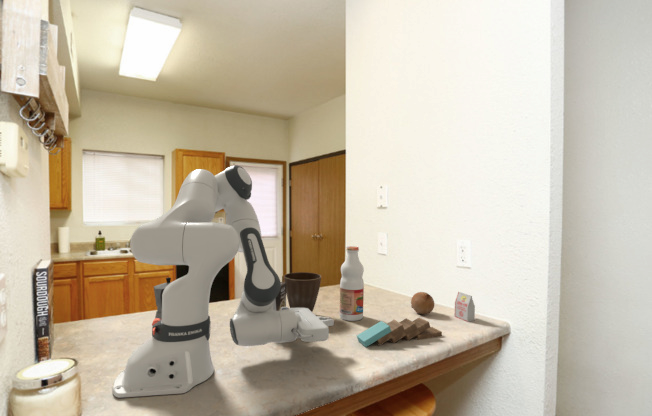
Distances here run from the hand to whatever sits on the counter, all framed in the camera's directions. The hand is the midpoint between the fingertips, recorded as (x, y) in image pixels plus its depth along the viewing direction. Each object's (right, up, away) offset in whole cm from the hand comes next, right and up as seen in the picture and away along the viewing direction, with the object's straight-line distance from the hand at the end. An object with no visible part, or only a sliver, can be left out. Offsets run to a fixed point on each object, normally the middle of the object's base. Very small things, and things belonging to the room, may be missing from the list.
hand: (332, 321), depth 102 cm
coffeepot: (-57, -8, +13) cm, 59 cm away
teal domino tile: (+9, -8, +4) cm, 13 cm away
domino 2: (+19, -8, +8) cm, 22 cm away
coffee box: (-20, -9, +15) cm, 27 cm away
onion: (+39, -10, +38) cm, 55 cm away
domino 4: (+28, -9, +11) cm, 31 cm away
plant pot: (-11, -9, +31) cm, 35 cm away
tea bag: (+54, -10, +32) cm, 63 cm away
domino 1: (+14, -8, +6) cm, 17 cm away
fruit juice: (+8, -9, +30) cm, 33 cm away
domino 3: (+24, -8, +10) cm, 27 cm away
